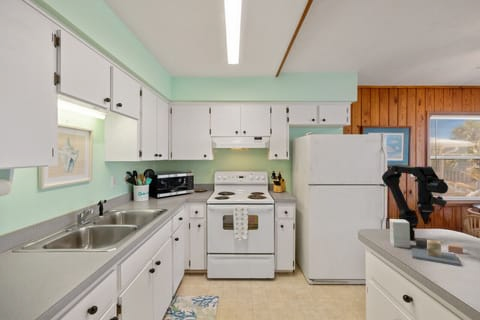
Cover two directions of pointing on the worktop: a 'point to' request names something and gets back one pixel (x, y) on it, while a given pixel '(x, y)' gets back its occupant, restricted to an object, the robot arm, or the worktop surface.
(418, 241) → the smooth grey pebble
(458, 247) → the terracotta tile
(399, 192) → the robot arm
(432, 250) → the beech block
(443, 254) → the slate board
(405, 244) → the supplement box
